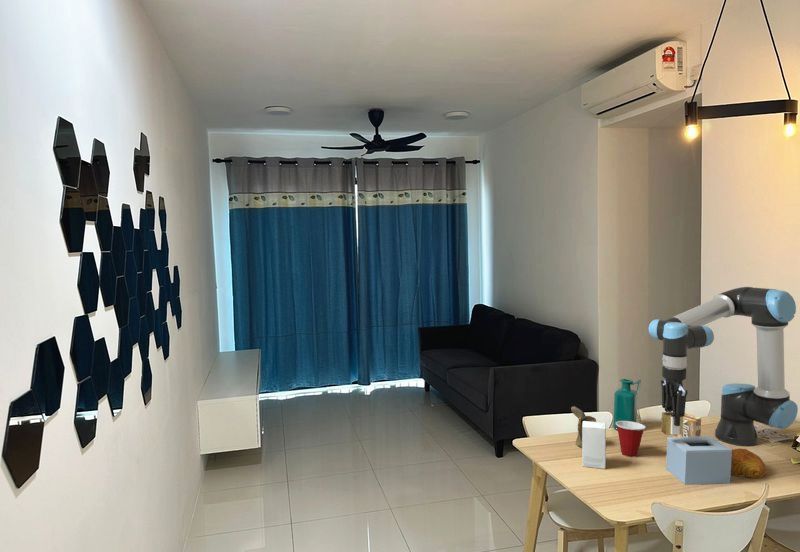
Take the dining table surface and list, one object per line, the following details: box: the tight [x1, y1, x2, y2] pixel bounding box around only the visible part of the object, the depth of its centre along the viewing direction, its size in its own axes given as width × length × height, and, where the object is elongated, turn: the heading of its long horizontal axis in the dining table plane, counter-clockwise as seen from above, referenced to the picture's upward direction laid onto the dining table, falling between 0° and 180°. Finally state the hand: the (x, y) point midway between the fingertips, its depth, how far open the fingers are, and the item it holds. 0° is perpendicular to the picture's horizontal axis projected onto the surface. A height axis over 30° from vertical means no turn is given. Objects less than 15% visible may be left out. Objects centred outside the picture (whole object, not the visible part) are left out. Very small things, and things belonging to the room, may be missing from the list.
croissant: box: [731, 447, 767, 479], centre depth 198 cm, size 14×16×8 cm
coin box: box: [665, 435, 732, 485], centre depth 192 cm, size 16×12×12 cm
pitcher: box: [612, 378, 642, 431], centre depth 237 cm, size 10×8×22 cm
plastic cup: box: [616, 421, 646, 458], centre depth 211 cm, size 11×11×12 cm
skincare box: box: [581, 421, 607, 470], centre depth 201 cm, size 8×7×16 cm
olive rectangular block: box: [660, 411, 683, 436], centre depth 192 cm, size 6×3×7 cm, turn 92°
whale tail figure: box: [570, 405, 597, 449], centre depth 218 cm, size 9×14×18 cm, turn 125°
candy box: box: [672, 412, 702, 437], centre depth 211 cm, size 9×4×15 cm, turn 33°
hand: (672, 431), depth 192 cm, fingers closed on olive rectangular block, 3 cm apart
